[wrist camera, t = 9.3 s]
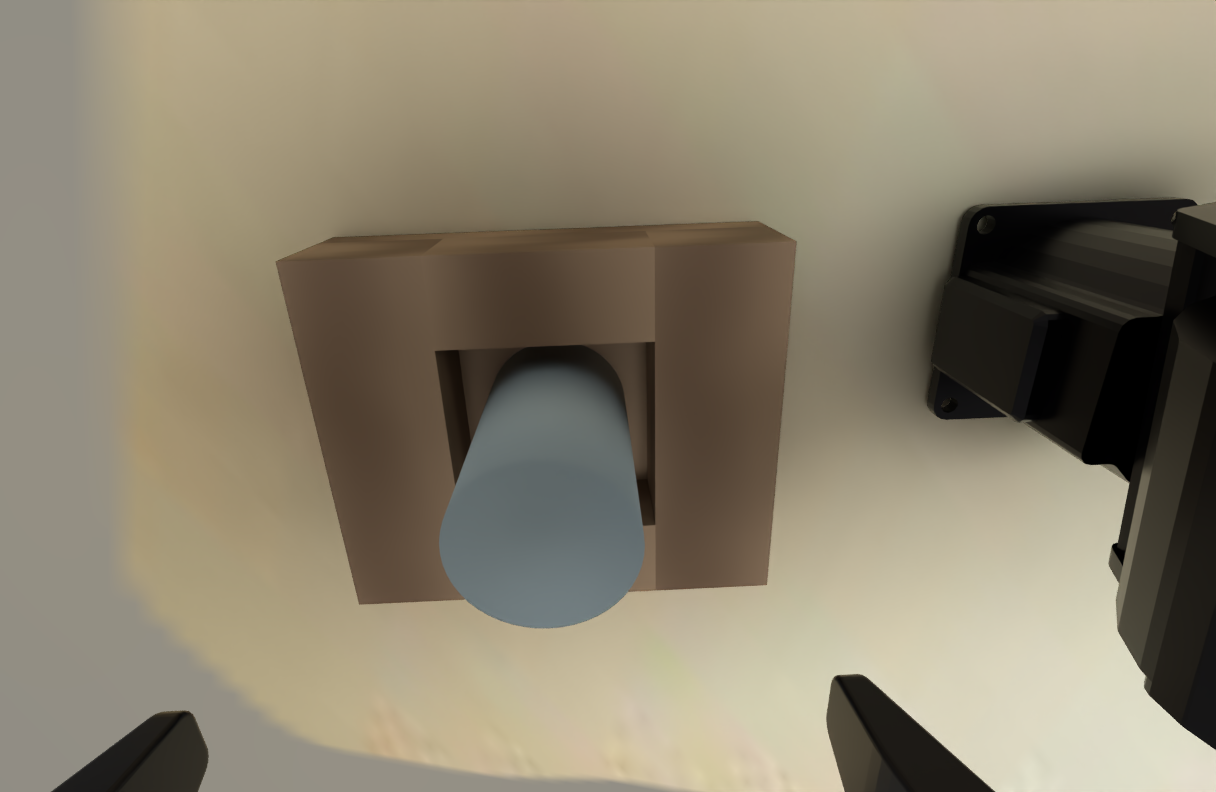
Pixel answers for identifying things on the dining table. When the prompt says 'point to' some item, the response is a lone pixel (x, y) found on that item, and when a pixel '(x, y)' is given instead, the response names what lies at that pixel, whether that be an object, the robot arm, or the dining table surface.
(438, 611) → the dining table surface
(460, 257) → the socket block
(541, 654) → the dining table surface
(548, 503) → the pin
